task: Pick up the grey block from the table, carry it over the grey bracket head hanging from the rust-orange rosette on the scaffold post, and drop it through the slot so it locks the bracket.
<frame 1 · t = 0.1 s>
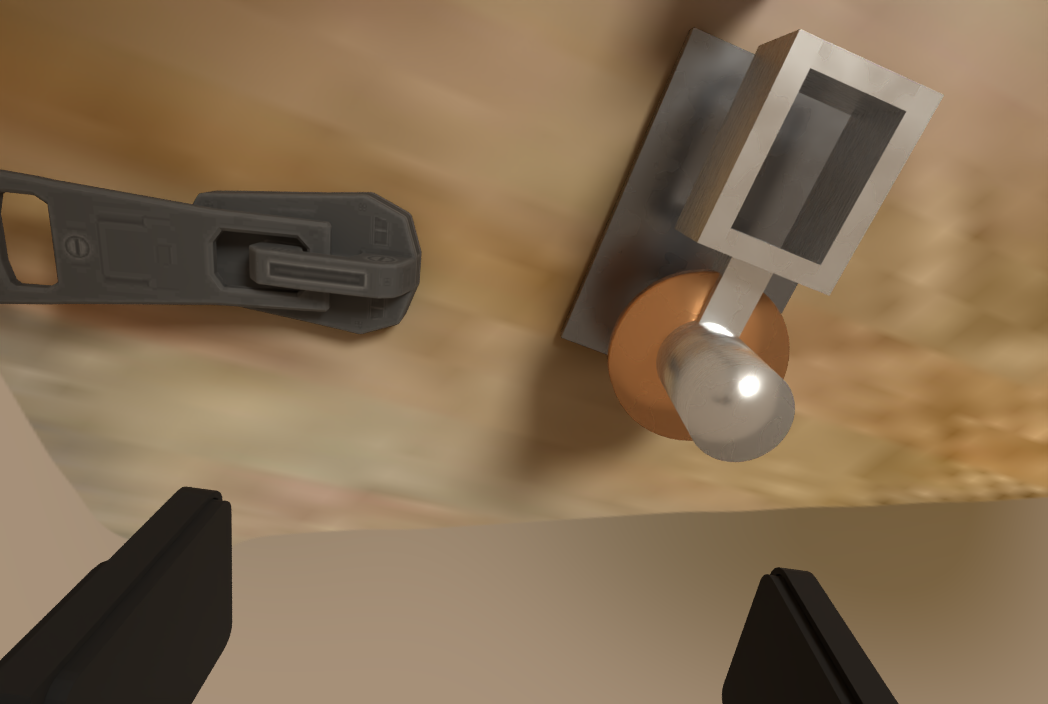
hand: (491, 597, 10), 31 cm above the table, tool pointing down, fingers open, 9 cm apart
ringlock standard: (707, 238, 39), on the table
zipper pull: (234, 243, 40), on the table
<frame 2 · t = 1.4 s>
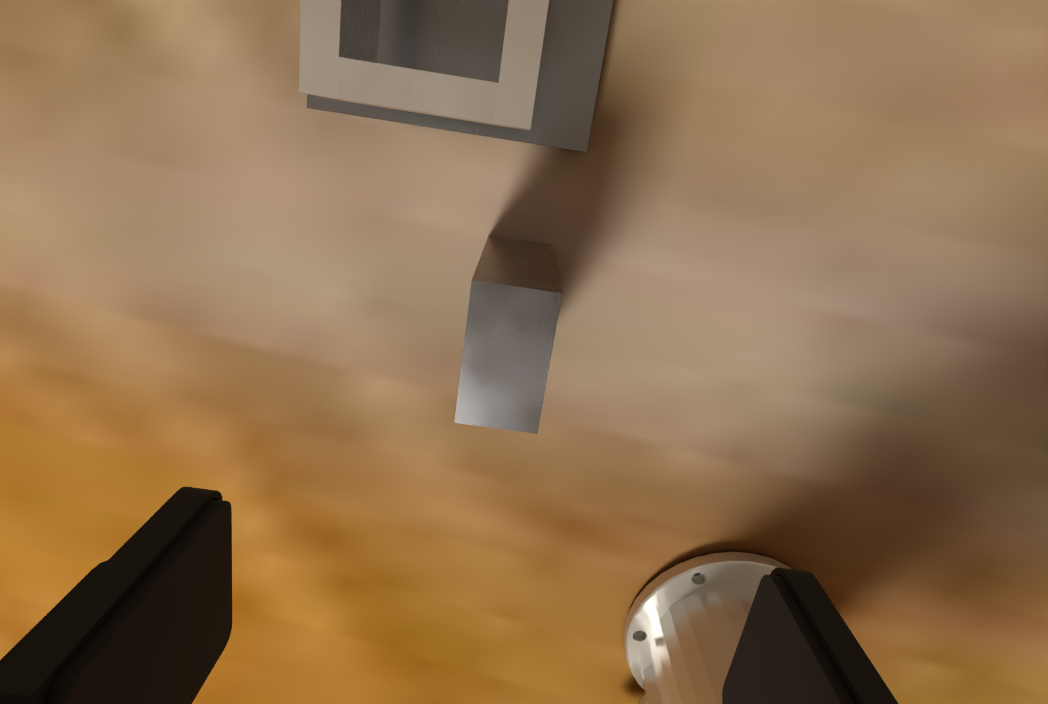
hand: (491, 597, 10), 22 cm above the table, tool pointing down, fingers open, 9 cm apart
grey block: (512, 293, 31), on the table
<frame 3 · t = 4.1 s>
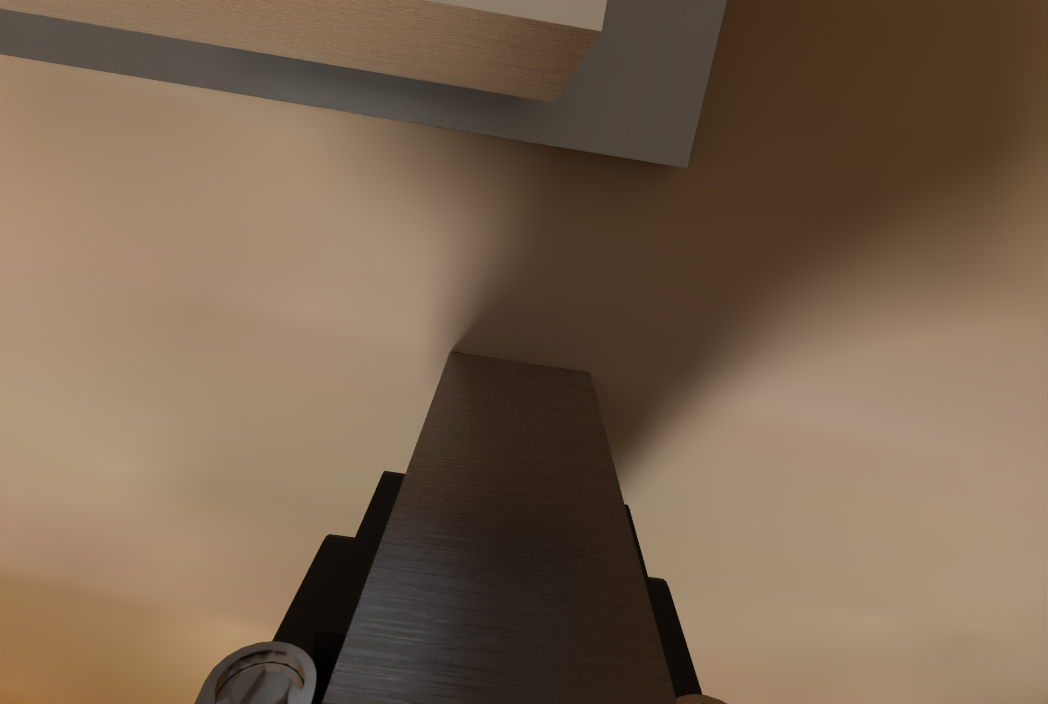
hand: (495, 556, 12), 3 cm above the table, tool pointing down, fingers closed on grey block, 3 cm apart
grey block: (501, 469, 15), on the table, touching gripper
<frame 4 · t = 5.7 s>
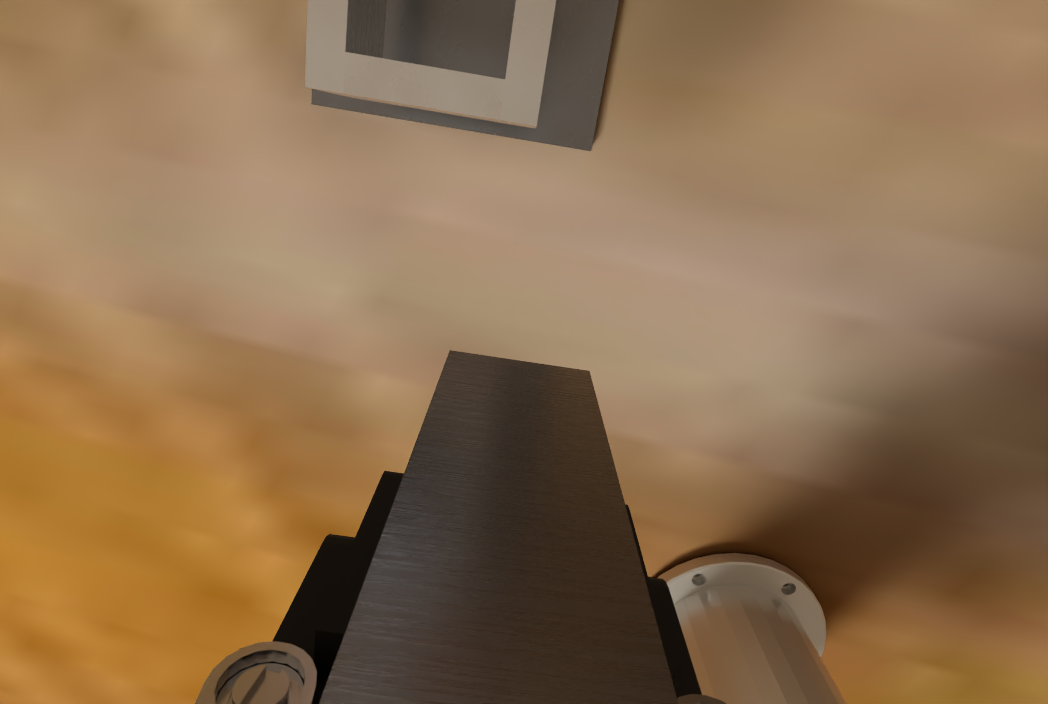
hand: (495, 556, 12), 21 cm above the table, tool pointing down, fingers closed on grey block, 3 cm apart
grey block: (502, 467, 15), point 18 cm above the table, touching gripper
when the fingers open (12 cm above the table, at t = 9.1 s): grey block drops 7 cm, resting on ringlock standard.
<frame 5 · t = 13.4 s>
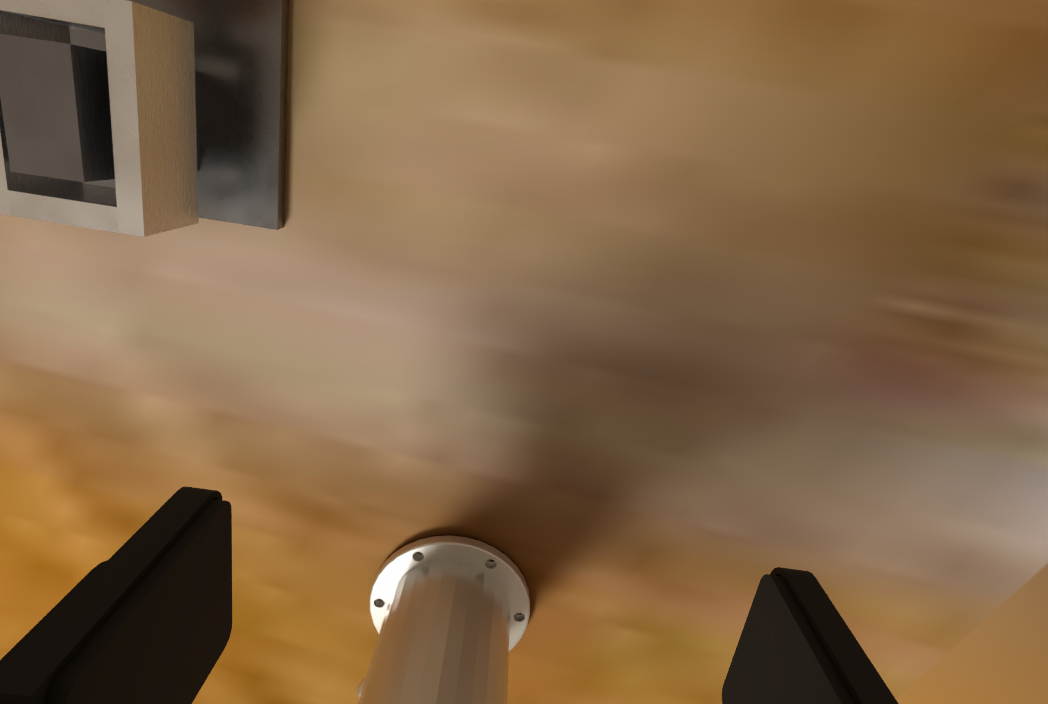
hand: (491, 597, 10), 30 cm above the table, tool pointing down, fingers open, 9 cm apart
ringlock standard: (174, 27, 35), on the table
grey block: (169, 117, 35), point 1 cm above the table, touching ringlock standard
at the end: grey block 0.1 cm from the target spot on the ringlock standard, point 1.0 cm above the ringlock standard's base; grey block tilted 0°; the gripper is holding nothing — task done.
